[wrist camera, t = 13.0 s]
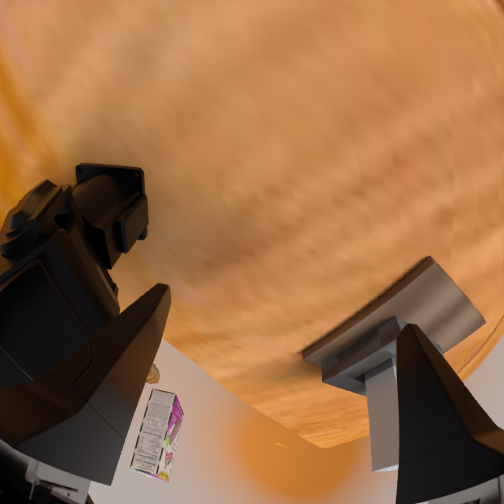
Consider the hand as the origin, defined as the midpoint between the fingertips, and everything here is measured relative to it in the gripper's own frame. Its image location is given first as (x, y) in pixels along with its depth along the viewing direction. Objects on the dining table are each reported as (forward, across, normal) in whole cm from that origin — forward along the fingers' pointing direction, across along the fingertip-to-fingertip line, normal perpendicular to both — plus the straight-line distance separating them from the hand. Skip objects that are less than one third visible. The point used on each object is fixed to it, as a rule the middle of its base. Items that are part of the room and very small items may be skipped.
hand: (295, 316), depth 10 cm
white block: (+11, -16, +18) cm, 26 cm away
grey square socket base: (+12, -17, +15) cm, 26 cm away
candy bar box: (+12, +12, +46) cm, 49 cm away
